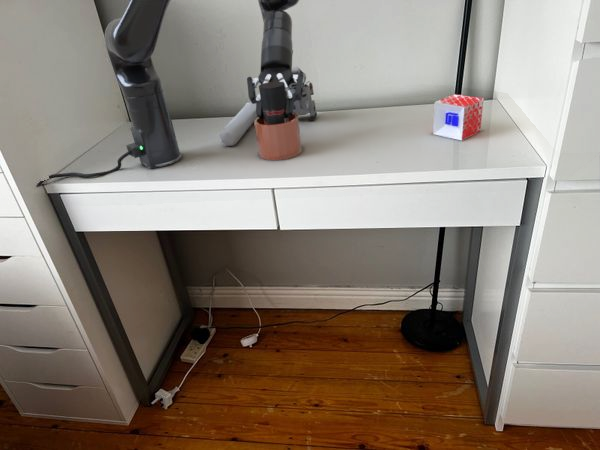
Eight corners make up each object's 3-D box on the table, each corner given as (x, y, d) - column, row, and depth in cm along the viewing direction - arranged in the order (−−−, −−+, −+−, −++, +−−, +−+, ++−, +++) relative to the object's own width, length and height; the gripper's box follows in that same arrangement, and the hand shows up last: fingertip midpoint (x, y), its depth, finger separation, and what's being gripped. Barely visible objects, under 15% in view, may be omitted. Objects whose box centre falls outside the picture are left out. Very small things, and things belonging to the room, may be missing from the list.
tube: (238, 133, 114) (262, 104, 135) (218, 127, 114) (245, 99, 135) (235, 151, 117) (259, 120, 138) (215, 146, 117) (242, 116, 138)
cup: (277, 163, 104) (273, 128, 100) (251, 154, 111) (245, 121, 107) (310, 149, 109) (307, 115, 105) (282, 141, 117) (278, 109, 112)
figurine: (279, 128, 126) (272, 74, 119) (289, 116, 136) (283, 65, 128) (311, 127, 124) (305, 72, 116) (318, 115, 134) (314, 62, 126)
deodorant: (289, 151, 107) (281, 87, 99) (265, 151, 108) (255, 89, 100) (294, 141, 112) (287, 80, 104) (271, 142, 113) (262, 82, 105)
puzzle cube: (480, 130, 108) (483, 98, 104) (461, 140, 104) (464, 106, 100) (451, 125, 114) (453, 94, 110) (432, 134, 110) (434, 102, 106)
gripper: (243, 46, 106) (240, 111, 102) (303, 41, 103) (302, 107, 99) (252, 65, 113) (249, 126, 109) (308, 60, 111) (307, 122, 106)
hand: (274, 116), depth 104 cm, fingers closed on deodorant, 6 cm apart
